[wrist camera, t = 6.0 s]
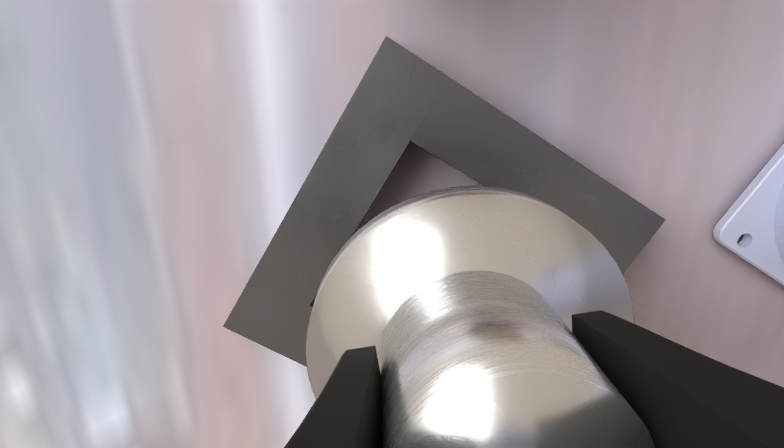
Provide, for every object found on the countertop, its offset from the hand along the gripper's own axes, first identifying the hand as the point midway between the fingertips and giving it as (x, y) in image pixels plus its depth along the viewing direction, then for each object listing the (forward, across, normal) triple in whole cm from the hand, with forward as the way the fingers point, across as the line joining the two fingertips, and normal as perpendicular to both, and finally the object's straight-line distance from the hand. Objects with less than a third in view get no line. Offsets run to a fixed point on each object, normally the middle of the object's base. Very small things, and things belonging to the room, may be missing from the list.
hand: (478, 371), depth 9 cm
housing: (+7, 0, 0) cm, 7 cm away
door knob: (+3, 0, 0) cm, 3 cm away
